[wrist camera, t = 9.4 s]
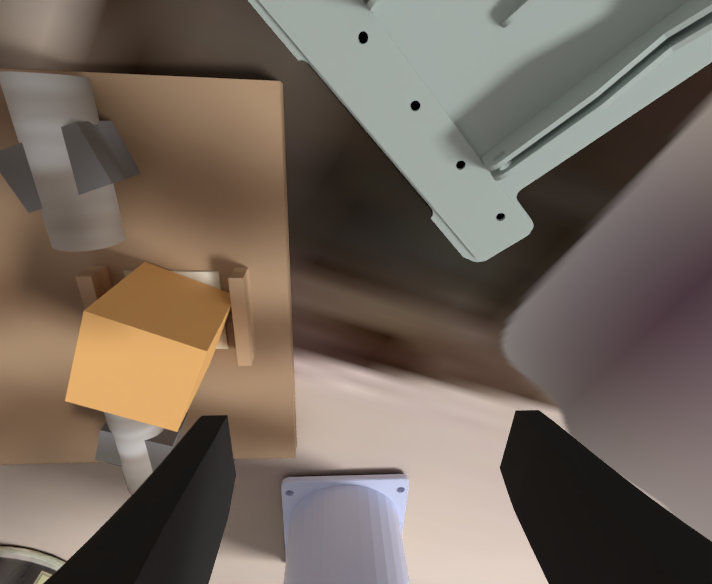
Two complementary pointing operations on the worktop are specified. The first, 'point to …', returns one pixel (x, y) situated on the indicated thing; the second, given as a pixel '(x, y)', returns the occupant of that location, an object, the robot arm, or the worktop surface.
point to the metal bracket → (491, 87)
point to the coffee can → (26, 566)
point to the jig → (141, 251)
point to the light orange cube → (147, 346)
